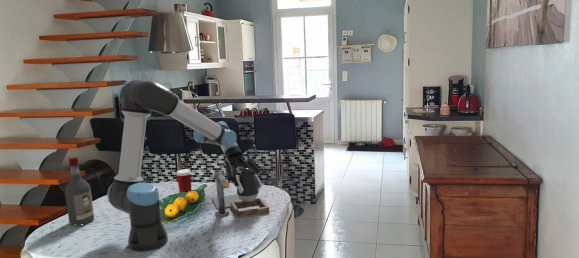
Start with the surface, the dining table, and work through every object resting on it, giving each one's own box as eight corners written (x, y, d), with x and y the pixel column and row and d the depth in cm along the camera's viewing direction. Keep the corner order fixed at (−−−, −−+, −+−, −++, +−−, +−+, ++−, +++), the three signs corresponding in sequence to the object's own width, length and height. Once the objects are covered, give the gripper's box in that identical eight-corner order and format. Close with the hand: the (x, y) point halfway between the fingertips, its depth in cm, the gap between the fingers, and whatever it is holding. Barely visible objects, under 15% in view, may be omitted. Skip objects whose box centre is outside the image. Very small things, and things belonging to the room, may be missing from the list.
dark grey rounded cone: (249, 205, 207) (247, 172, 204) (232, 201, 213) (230, 169, 210) (264, 198, 215) (262, 167, 212) (247, 195, 221) (245, 164, 218)
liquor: (66, 223, 209) (57, 159, 203) (83, 216, 216) (75, 154, 211) (80, 226, 204) (71, 161, 199) (97, 219, 212) (88, 156, 207)
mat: (217, 209, 217) (217, 208, 217) (212, 199, 232) (211, 197, 232) (250, 204, 222) (250, 203, 222) (243, 194, 237) (242, 193, 237)
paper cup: (195, 194, 240) (193, 168, 238) (191, 199, 233) (188, 173, 230) (181, 194, 241) (178, 169, 239) (176, 199, 234) (173, 173, 231)
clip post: (216, 217, 207) (213, 180, 204) (214, 212, 213) (211, 176, 210) (230, 215, 209) (227, 178, 206) (227, 210, 215) (224, 174, 212)
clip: (213, 175, 209) (213, 171, 209) (223, 174, 210) (222, 170, 210) (221, 188, 189) (221, 184, 189) (232, 187, 191) (231, 183, 190)
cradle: (237, 217, 206) (237, 212, 205) (231, 207, 220) (230, 202, 219) (269, 212, 210) (269, 207, 210) (261, 202, 224) (260, 197, 224)
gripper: (213, 149, 211) (233, 190, 201) (253, 141, 224) (274, 179, 215) (208, 158, 216) (227, 199, 206) (248, 150, 229) (268, 188, 220)
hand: (251, 189), depth 210 cm, fingers closed on dark grey rounded cone, 9 cm apart
